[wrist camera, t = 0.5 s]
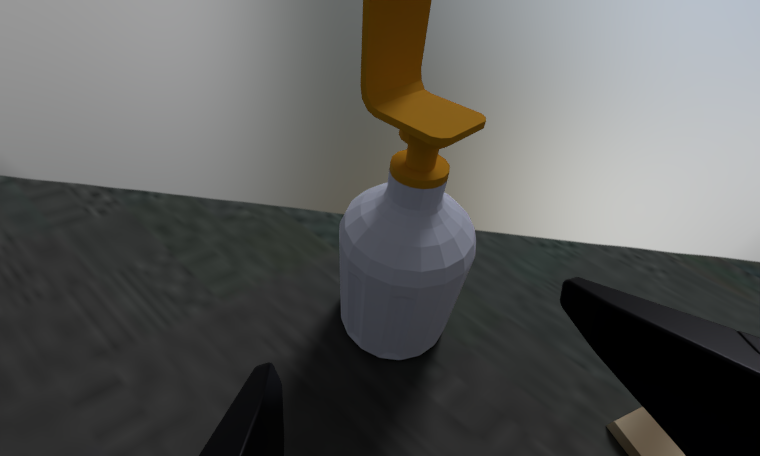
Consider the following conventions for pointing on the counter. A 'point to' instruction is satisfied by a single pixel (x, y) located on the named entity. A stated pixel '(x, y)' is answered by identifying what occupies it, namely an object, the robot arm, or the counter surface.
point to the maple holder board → (643, 435)
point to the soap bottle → (405, 198)
